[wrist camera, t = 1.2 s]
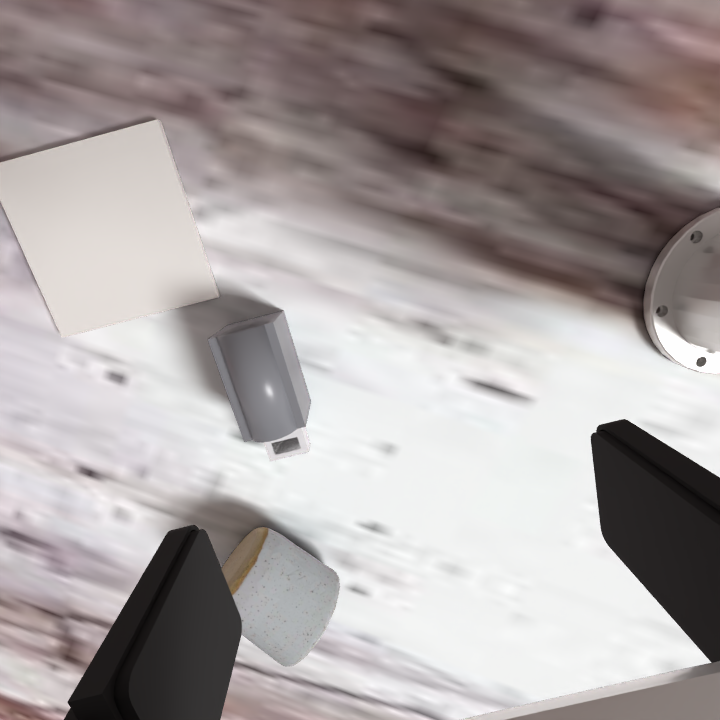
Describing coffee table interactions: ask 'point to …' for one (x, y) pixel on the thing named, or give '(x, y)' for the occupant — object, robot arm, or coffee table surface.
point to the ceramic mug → (280, 594)
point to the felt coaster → (107, 228)
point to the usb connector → (264, 383)
